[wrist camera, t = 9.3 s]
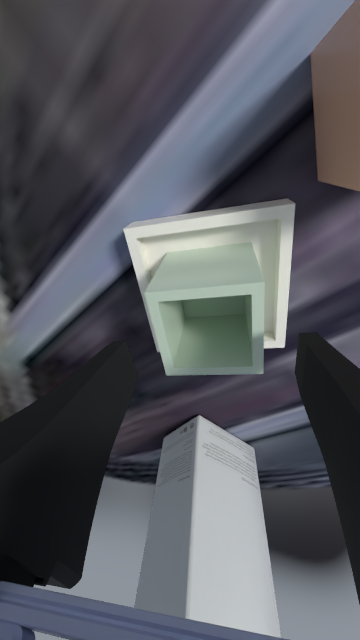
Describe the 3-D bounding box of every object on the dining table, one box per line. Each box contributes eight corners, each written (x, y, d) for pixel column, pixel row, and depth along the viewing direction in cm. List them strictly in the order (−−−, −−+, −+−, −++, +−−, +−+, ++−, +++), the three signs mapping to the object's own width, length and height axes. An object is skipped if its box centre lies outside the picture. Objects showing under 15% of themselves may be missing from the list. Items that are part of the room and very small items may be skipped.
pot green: (252, 315, 17) (263, 373, 12) (180, 319, 18) (166, 375, 13) (251, 242, 14) (264, 281, 10) (167, 252, 15) (144, 292, 11)
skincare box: (163, 435, 28) (112, 674, 15) (201, 410, 24) (178, 691, 12) (218, 466, 30) (214, 701, 17) (260, 448, 27) (296, 722, 14)
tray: (279, 331, 18) (284, 347, 17) (162, 337, 20) (157, 352, 19) (287, 198, 13) (295, 203, 12) (133, 222, 15) (123, 228, 14)
